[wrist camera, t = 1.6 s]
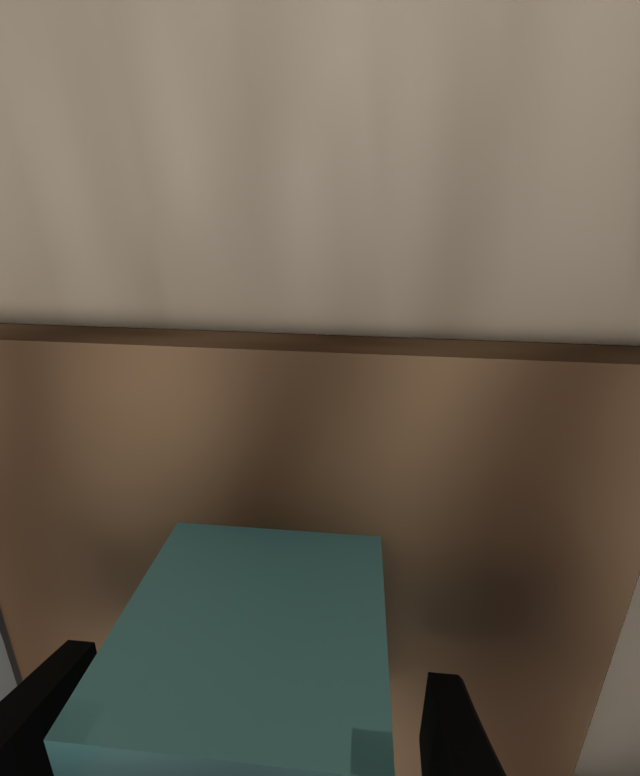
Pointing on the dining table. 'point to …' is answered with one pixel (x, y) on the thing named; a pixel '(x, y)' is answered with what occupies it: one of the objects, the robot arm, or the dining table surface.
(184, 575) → the teal cube crate
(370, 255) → the dining table surface
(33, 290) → the dining table surface
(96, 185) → the dining table surface
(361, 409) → the board
